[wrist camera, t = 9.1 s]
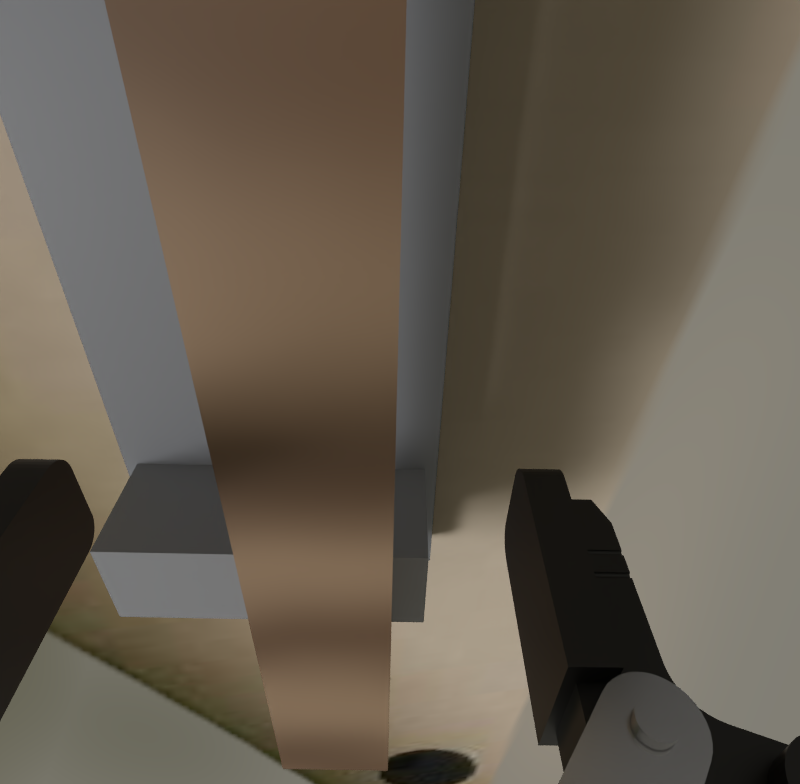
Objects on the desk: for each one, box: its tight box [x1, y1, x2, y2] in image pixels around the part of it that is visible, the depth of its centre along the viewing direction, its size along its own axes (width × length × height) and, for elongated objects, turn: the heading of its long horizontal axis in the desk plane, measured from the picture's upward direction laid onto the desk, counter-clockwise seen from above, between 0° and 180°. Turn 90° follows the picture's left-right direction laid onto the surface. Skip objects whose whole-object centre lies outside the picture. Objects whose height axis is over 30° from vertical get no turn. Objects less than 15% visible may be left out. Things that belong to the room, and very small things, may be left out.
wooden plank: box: [104, 0, 407, 771], centre depth 13 cm, size 28×4×5 cm, turn 179°
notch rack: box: [0, 0, 475, 622], centre depth 16 cm, size 30×13×9 cm, turn 179°
